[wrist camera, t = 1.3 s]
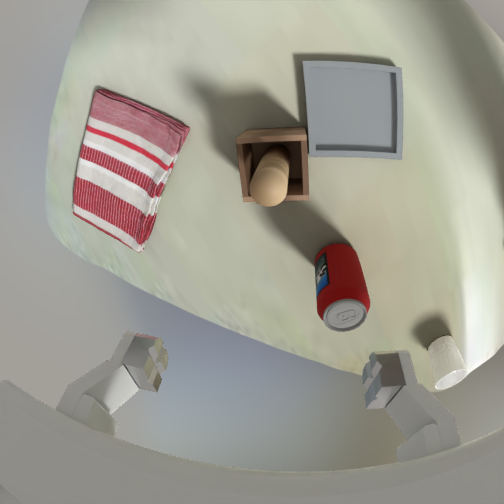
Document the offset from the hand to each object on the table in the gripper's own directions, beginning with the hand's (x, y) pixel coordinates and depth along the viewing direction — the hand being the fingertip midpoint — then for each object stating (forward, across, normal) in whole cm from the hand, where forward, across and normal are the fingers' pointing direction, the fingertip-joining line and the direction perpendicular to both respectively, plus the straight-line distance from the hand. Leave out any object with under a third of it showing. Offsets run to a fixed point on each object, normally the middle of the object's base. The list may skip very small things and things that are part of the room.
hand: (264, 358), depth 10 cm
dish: (+28, -9, -8) cm, 30 cm away
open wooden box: (+28, +1, -1) cm, 29 cm away
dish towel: (+30, +24, +1) cm, 39 cm away
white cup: (+28, -39, +36) cm, 60 cm away
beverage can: (+29, -9, +14) cm, 33 cm away
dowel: (+28, +1, -1) cm, 28 cm away
